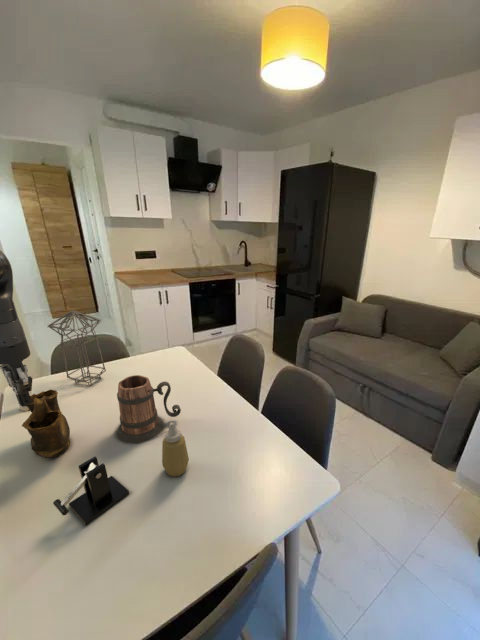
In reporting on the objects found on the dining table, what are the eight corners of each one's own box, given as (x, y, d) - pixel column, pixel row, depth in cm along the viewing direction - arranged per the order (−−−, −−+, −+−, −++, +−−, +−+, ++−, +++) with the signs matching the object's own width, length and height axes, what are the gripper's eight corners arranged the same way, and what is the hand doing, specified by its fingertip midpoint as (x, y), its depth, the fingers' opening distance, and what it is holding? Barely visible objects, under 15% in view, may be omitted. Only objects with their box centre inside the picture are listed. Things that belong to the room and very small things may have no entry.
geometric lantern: (113, 376, 144) (101, 308, 130) (89, 392, 130) (73, 317, 116) (86, 372, 147) (72, 304, 133) (60, 387, 133) (40, 313, 119)
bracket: (86, 525, 74) (75, 489, 69) (69, 506, 79) (58, 471, 73) (129, 493, 83) (122, 459, 78) (112, 478, 88) (105, 445, 83)
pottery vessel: (78, 464, 92) (64, 412, 84) (35, 480, 86) (16, 425, 78) (68, 423, 110) (56, 377, 102) (33, 433, 104) (17, 385, 96)
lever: (66, 516, 71) (59, 514, 69) (57, 505, 74) (50, 503, 72) (105, 471, 77) (99, 468, 75) (95, 463, 79) (89, 459, 78)
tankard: (116, 448, 99) (106, 398, 91) (116, 420, 113) (107, 375, 105) (185, 431, 109) (181, 385, 101) (177, 407, 123) (173, 365, 115)
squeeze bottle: (190, 459, 96) (187, 414, 89) (188, 478, 89) (185, 431, 82) (165, 461, 95) (159, 416, 88) (161, 481, 88) (155, 433, 80)
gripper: (-27, 336, 66) (-3, 401, 73) (-7, 352, 59) (17, 422, 66) (14, 328, 71) (32, 389, 78) (36, 342, 65) (54, 407, 71)
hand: (25, 404), depth 72 cm, fingers closed
